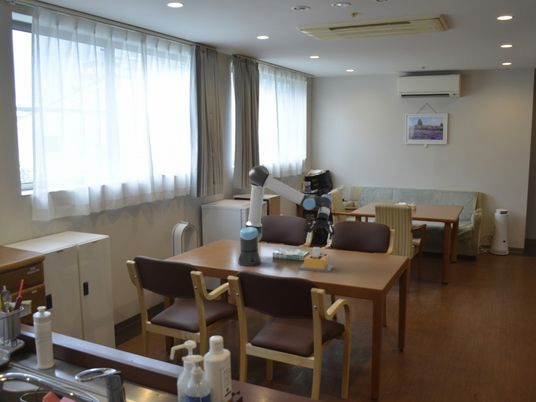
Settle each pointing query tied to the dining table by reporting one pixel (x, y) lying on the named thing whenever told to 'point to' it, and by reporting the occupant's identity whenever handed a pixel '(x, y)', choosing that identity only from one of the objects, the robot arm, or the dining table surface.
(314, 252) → the white cylinder
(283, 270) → the dining table surface
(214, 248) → the dining table surface
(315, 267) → the yellow and grey block
